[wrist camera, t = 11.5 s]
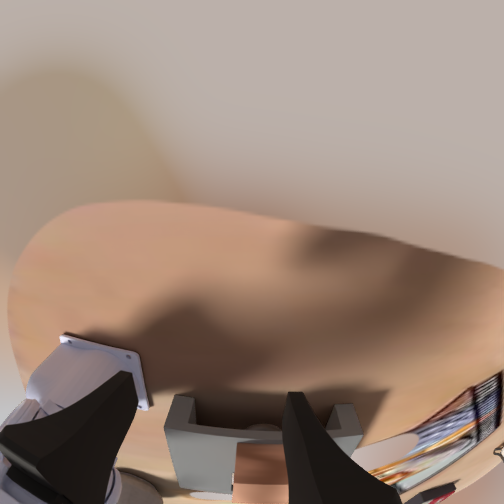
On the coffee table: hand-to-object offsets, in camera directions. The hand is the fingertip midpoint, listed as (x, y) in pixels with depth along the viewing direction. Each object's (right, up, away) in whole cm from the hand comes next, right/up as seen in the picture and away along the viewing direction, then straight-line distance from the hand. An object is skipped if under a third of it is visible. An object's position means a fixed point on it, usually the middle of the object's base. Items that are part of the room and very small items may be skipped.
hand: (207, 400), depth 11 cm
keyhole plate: (+3, -15, +15) cm, 21 cm away
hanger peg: (+3, -12, +12) cm, 17 cm away
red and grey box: (+46, -56, +26) cm, 77 cm away
